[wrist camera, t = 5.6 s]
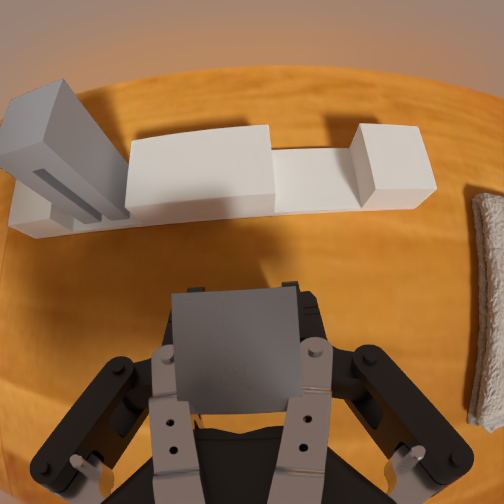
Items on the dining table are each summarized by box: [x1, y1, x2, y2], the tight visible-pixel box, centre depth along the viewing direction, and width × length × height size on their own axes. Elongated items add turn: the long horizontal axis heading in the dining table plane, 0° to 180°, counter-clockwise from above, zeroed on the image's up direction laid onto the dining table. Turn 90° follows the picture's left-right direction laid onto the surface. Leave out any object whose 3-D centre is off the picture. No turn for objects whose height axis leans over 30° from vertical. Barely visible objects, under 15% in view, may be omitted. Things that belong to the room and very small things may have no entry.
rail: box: [0, 79, 437, 239], centre depth 16 cm, size 28×4×10 cm, turn 94°
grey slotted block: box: [171, 286, 303, 414], centre depth 13 cm, size 4×4×10 cm
